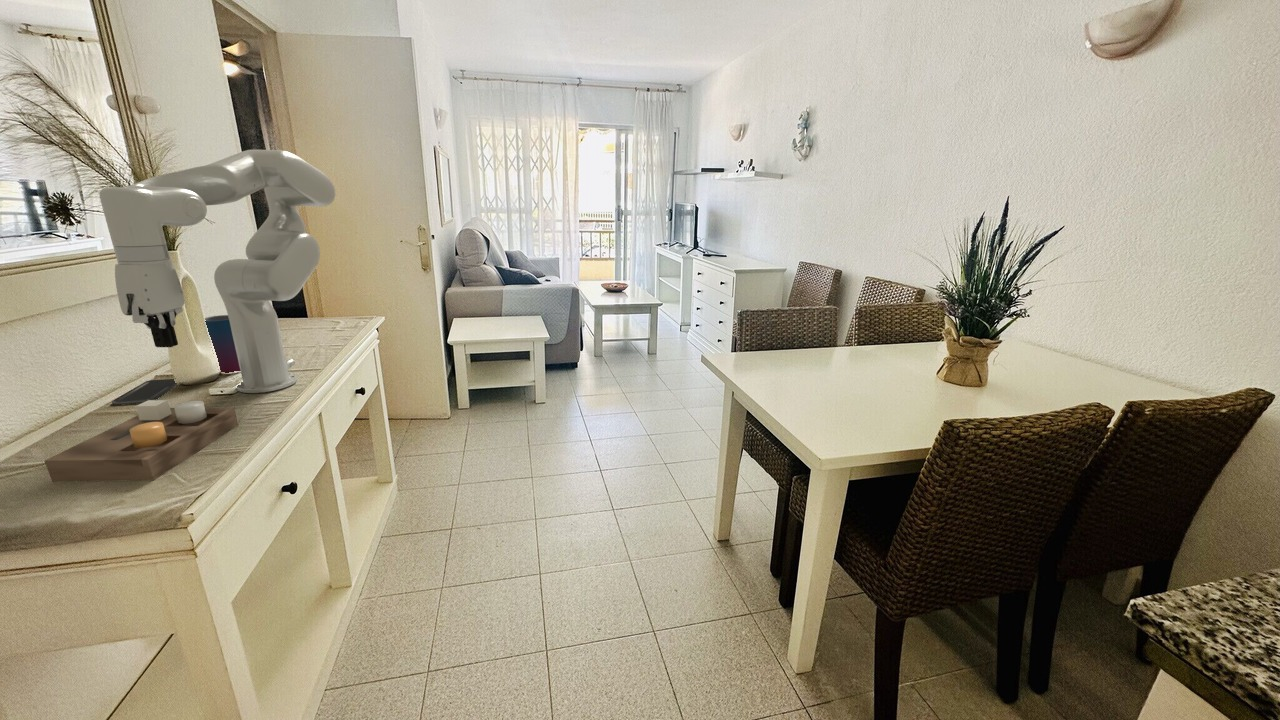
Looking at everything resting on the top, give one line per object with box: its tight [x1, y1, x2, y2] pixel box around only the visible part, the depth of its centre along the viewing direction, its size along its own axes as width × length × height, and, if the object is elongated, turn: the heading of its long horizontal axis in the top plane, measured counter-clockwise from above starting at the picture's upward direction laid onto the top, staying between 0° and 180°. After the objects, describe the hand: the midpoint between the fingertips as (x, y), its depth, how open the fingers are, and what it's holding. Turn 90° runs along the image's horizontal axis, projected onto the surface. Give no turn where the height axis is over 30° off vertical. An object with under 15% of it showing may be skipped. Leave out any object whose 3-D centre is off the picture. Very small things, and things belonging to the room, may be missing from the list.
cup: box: [204, 314, 241, 373], centre depth 137 cm, size 7×7×15 cm
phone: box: [111, 378, 178, 406], centre depth 124 cm, size 8×1×15 cm
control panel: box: [44, 407, 239, 483], centre depth 97 cm, size 22×16×4 cm
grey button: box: [173, 400, 207, 424], centre depth 101 cm, size 4×4×3 cm
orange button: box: [129, 422, 167, 448], centre depth 92 cm, size 4×4×3 cm
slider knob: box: [135, 399, 172, 420], centre depth 102 cm, size 3×4×3 cm
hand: (167, 346), depth 105 cm, fingers closed
